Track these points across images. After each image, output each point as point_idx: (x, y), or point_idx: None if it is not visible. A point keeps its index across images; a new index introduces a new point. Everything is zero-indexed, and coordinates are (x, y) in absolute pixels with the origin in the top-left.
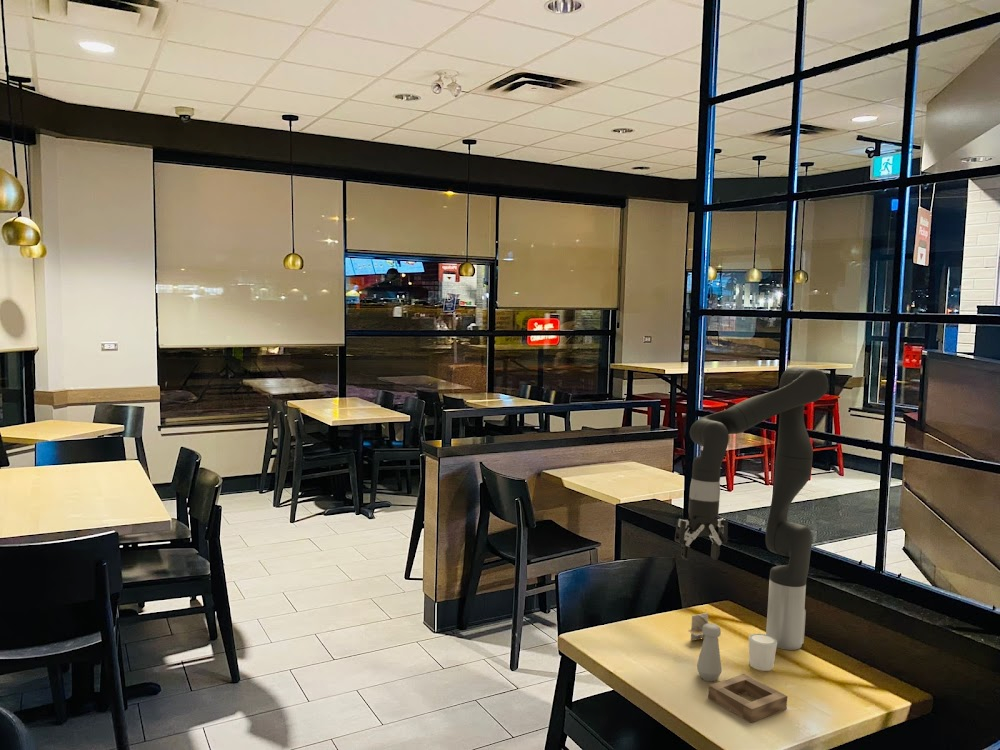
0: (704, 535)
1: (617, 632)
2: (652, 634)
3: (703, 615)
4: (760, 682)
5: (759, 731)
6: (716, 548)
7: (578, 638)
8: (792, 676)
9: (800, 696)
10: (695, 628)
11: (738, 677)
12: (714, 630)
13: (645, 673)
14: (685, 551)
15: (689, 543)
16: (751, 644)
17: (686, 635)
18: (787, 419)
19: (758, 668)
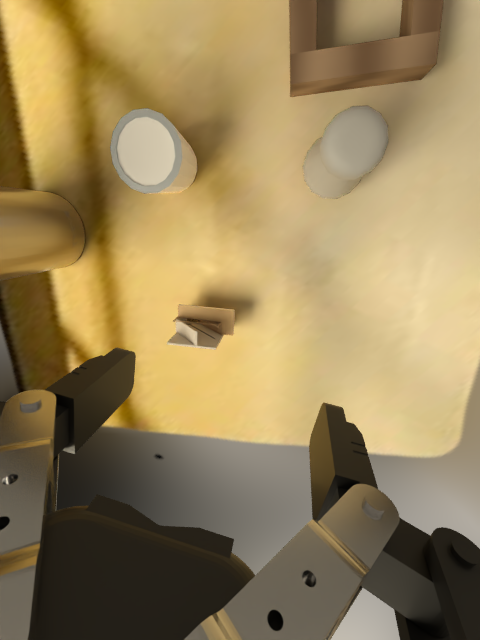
0: (147, 528)
1: None
2: (280, 381)
3: (182, 342)
4: (291, 15)
5: None
6: (88, 385)
7: (435, 435)
8: (144, 87)
9: None
10: (212, 334)
11: (322, 70)
12: (372, 109)
13: (446, 251)
14: (358, 457)
15: (352, 502)
16: (184, 161)
17: (218, 348)
18: None
19: (192, 150)
